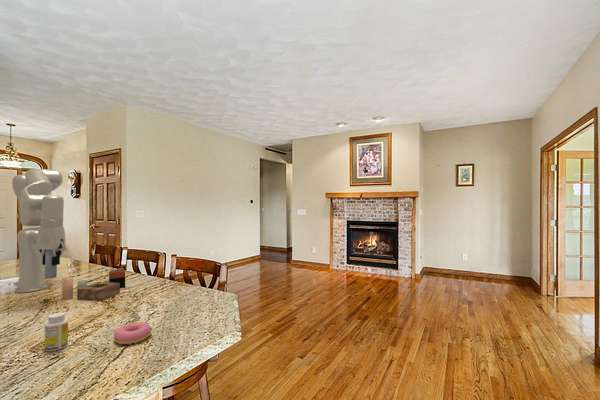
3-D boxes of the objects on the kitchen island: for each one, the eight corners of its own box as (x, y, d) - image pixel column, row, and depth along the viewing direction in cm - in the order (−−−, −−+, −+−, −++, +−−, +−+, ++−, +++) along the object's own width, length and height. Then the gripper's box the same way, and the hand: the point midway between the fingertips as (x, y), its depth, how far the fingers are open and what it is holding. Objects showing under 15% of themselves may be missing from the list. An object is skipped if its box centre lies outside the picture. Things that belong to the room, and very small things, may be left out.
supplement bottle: (65, 341, 94) (65, 310, 95) (69, 347, 91) (70, 314, 91) (42, 348, 90) (43, 315, 90) (46, 354, 87) (46, 319, 87)
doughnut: (135, 348, 91) (135, 335, 91) (104, 345, 93) (105, 331, 93) (158, 333, 102) (158, 321, 102) (130, 330, 104) (130, 318, 104)
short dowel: (75, 294, 143) (75, 282, 143) (82, 291, 147) (82, 279, 147) (82, 294, 143) (82, 282, 143) (89, 292, 147) (89, 280, 147)
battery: (125, 287, 155) (125, 268, 155) (110, 289, 151) (110, 270, 151) (123, 285, 159) (123, 267, 159) (108, 288, 154) (108, 269, 154)
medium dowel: (59, 299, 135) (59, 280, 135) (67, 296, 139) (67, 277, 139) (67, 300, 135) (67, 280, 135) (75, 297, 139) (75, 278, 139)
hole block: (77, 299, 135) (77, 288, 135) (98, 291, 147) (98, 281, 147) (100, 300, 134) (100, 289, 134) (119, 292, 146) (119, 282, 146)
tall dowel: (42, 278, 128) (43, 246, 128) (51, 275, 132) (51, 245, 132) (50, 278, 128) (51, 247, 127) (58, 276, 132) (59, 245, 131)
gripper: (26, 223, 127) (25, 265, 127) (61, 225, 125) (59, 267, 125) (43, 222, 134) (42, 261, 134) (76, 223, 132) (75, 263, 132)
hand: (51, 264), depth 130 cm, fingers closed on tall dowel, 4 cm apart
